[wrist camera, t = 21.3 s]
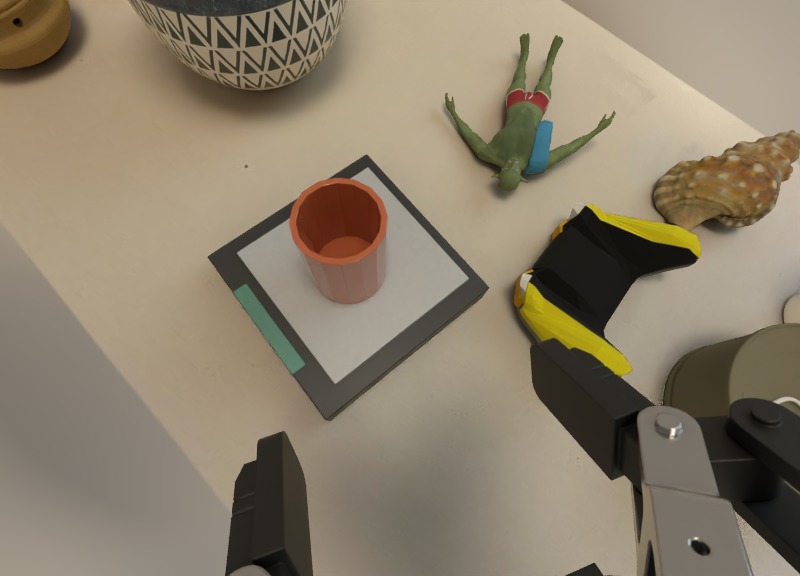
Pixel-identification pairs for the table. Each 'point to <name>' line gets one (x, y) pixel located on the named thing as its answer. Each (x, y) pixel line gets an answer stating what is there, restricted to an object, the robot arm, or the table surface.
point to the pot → (31, 31)
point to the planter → (245, 37)
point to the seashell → (728, 183)
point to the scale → (349, 323)
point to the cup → (342, 238)
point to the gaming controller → (596, 277)
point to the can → (739, 373)
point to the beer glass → (792, 310)
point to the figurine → (524, 127)
